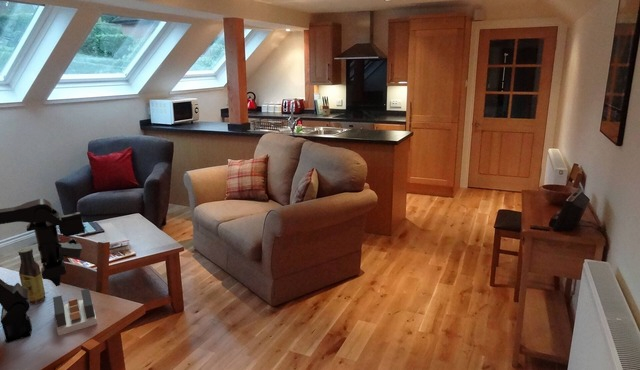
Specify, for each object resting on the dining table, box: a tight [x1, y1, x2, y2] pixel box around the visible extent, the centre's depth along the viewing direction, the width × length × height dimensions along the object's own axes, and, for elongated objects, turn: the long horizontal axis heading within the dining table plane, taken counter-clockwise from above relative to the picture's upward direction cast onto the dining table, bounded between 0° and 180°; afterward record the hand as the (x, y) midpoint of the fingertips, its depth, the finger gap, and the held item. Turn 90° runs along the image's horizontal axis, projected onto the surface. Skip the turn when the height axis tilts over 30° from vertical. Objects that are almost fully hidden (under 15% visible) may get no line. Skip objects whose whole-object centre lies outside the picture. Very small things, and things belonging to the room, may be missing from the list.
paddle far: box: [67, 297, 79, 307], centre depth 150 cm, size 3×1×2 cm, turn 122°
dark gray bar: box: [80, 287, 96, 319], centre depth 148 cm, size 2×12×4 cm, turn 32°
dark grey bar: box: [52, 295, 66, 328], centre depth 144 cm, size 2×12×4 cm, turn 32°
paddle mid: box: [69, 305, 79, 313], centre depth 146 cm, size 3×1×2 cm, turn 122°
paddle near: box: [70, 311, 81, 320], centre depth 143 cm, size 3×1×2 cm, turn 122°
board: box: [56, 299, 98, 336], centre depth 147 cm, size 15×11×2 cm
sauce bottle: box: [18, 246, 46, 305], centre depth 155 cm, size 7×6×20 cm
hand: (58, 285), depth 142 cm, fingers closed
